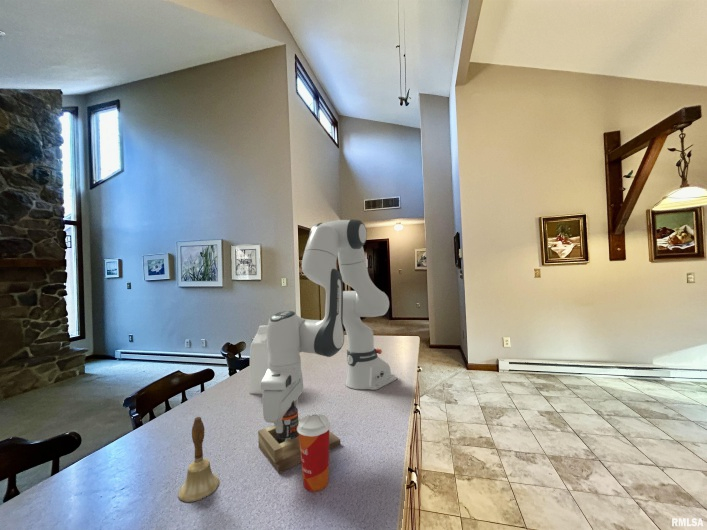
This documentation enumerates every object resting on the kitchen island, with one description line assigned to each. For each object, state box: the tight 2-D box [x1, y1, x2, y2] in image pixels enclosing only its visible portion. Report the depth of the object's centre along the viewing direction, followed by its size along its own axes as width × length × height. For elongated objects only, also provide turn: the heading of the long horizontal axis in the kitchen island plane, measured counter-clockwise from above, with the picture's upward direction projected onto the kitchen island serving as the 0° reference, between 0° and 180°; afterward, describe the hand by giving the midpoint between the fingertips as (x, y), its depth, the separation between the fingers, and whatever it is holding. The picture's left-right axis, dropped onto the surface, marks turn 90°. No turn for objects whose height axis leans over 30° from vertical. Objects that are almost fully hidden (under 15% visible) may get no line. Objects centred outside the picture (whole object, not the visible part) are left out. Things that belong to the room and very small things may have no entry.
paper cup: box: [297, 413, 332, 493], centre depth 69 cm, size 8×8×14 cm
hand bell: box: [177, 416, 220, 503], centre depth 68 cm, size 8×8×16 cm
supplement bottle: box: [277, 400, 299, 444], centre depth 82 cm, size 6×6×11 cm
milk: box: [248, 325, 269, 394], centre depth 127 cm, size 12×12×26 cm
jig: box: [257, 417, 341, 474], centre depth 83 cm, size 18×14×4 cm
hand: (286, 422), depth 82 cm, fingers open, 8 cm apart
